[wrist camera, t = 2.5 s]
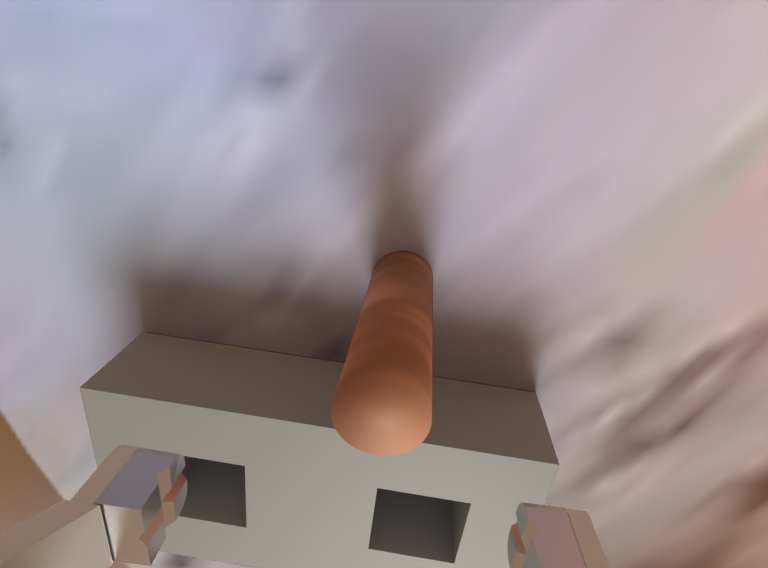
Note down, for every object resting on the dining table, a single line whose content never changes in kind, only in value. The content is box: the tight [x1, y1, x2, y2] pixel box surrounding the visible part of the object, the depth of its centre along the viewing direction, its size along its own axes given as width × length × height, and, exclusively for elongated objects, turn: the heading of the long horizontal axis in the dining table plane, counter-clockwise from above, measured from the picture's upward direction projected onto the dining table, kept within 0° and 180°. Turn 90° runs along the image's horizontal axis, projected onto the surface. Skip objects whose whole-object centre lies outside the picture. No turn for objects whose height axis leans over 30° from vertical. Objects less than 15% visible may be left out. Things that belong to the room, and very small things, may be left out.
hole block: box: [80, 332, 559, 568], centre depth 25 cm, size 22×11×5 cm, turn 84°
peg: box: [331, 251, 433, 456], centre depth 18 cm, size 3×3×10 cm
